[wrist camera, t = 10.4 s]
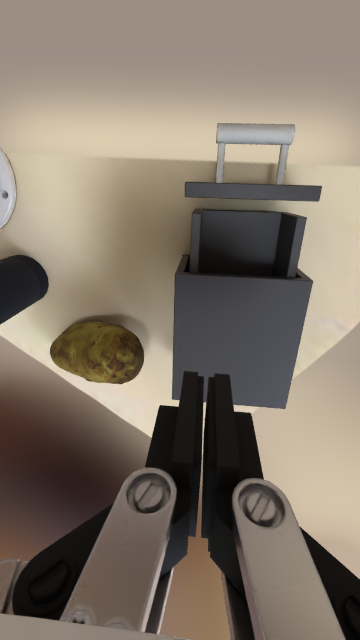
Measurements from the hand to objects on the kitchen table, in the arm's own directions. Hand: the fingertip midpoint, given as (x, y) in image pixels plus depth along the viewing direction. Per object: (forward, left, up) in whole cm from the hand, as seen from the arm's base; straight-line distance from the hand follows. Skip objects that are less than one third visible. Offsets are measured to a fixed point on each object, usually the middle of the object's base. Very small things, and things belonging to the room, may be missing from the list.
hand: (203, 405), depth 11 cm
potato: (-10, -15, -27) cm, 33 cm away
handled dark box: (+2, +4, -26) cm, 27 cm away
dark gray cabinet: (+5, -6, -27) cm, 28 cm away
